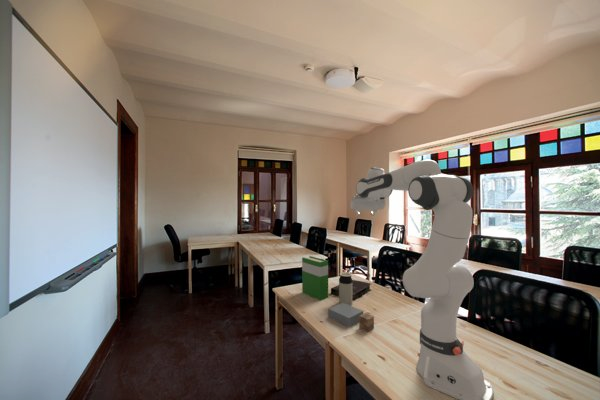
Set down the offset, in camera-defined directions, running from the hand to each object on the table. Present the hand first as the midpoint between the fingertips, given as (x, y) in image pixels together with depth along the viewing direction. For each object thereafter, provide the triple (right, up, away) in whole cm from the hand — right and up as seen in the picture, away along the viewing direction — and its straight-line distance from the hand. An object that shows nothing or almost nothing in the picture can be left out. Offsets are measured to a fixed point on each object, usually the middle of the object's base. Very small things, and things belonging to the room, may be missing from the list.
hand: (364, 215), depth 142 cm
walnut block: (-6, -54, -24) cm, 60 cm away
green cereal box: (-29, -55, +18) cm, 64 cm away
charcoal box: (-14, -55, -14) cm, 58 cm away
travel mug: (-11, -55, +5) cm, 56 cm away
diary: (-3, -55, +23) cm, 60 cm away
